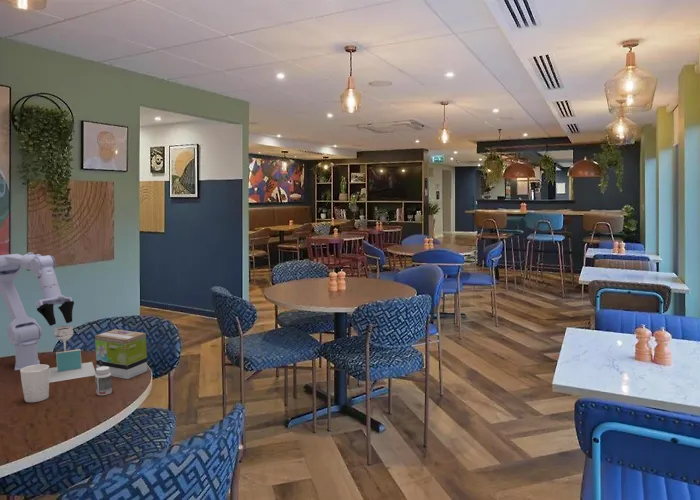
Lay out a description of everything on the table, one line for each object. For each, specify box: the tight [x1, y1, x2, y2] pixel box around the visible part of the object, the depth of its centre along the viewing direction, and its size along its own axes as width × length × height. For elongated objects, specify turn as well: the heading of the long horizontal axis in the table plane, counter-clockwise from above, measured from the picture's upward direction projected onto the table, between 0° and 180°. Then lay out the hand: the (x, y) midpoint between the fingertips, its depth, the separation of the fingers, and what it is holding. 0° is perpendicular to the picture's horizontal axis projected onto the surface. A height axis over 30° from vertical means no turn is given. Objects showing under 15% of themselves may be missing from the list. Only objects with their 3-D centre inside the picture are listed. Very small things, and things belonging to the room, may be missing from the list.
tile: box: [55, 348, 82, 372], centre depth 196 cm, size 1×8×7 cm, turn 121°
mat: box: [49, 361, 96, 384], centre depth 194 cm, size 18×16×1 cm
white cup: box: [19, 363, 50, 403], centre depth 169 cm, size 8×8×10 cm
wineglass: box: [53, 325, 74, 351], centre depth 213 cm, size 7×7×12 cm
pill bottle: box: [94, 366, 113, 396], centre depth 173 cm, size 5×5×8 cm
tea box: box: [94, 328, 148, 380], centre depth 193 cm, size 15×10×15 cm
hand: (61, 323), depth 188 cm, fingers open, 7 cm apart
